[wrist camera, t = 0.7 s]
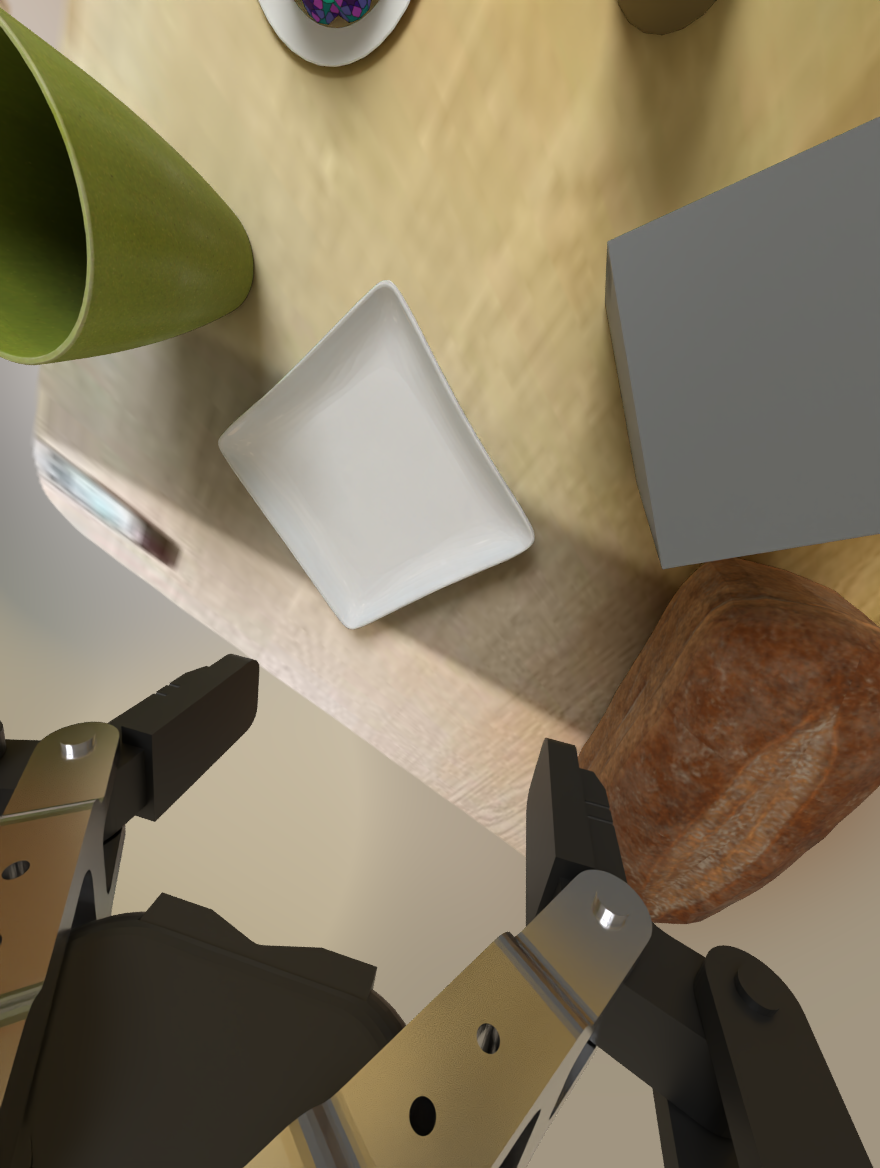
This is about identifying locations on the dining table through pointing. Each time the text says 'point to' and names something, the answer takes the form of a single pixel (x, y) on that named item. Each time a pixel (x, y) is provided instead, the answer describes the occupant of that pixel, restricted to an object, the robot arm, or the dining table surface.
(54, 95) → the flower pot
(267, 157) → the dining table surface
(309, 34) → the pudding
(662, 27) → the cork
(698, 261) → the control box
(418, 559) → the salad plate
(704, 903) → the bread
